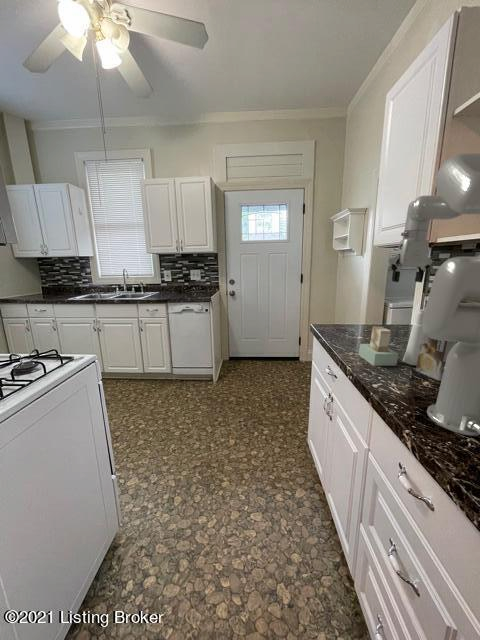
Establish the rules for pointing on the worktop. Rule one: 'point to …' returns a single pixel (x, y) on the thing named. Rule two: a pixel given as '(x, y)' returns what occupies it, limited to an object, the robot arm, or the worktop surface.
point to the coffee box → (433, 356)
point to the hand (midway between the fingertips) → (406, 281)
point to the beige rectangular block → (380, 339)
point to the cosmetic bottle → (414, 340)
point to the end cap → (378, 356)
